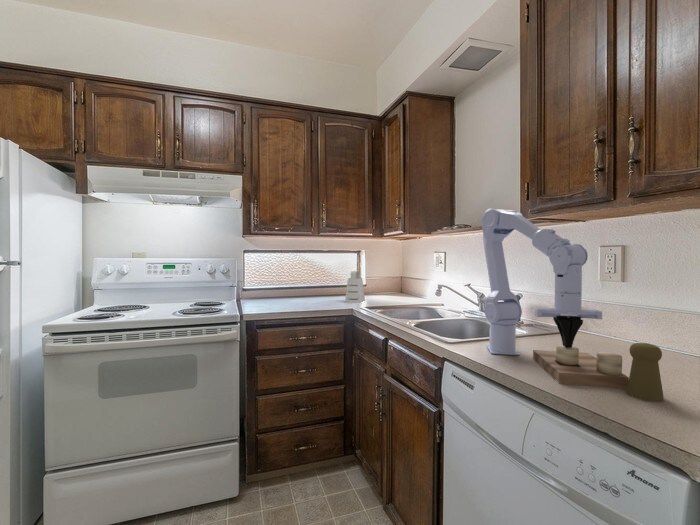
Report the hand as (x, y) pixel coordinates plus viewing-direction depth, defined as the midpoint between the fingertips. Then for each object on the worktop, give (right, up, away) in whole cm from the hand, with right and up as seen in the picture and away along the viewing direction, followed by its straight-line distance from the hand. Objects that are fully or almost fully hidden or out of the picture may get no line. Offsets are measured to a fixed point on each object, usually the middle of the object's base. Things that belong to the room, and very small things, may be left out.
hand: (567, 346), depth 87 cm
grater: (-51, -5, +136) cm, 146 cm away
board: (+3, -7, +2) cm, 8 cm away
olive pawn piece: (+8, -7, -14) cm, 17 cm away
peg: (0, -7, 0) cm, 7 cm away
